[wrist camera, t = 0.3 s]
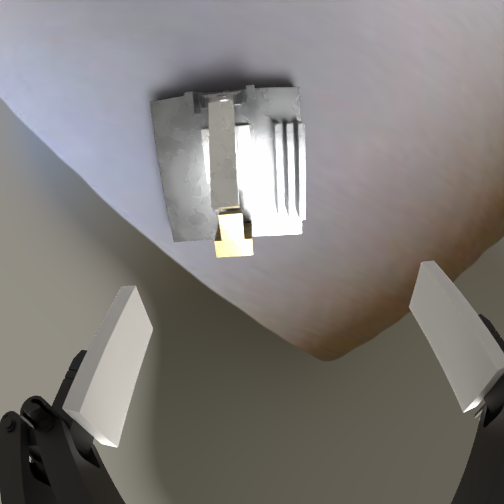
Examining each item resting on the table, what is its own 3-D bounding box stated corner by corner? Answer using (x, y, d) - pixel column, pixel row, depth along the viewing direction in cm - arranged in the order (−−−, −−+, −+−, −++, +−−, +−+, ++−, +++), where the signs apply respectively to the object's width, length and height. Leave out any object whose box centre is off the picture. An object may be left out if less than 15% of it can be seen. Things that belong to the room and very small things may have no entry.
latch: (215, 201, 32) (210, 215, 29) (249, 199, 32) (249, 213, 28) (220, 239, 35) (216, 257, 31) (252, 237, 35) (253, 255, 31)
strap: (202, 99, 25) (200, 93, 24) (241, 95, 25) (241, 88, 24) (204, 210, 26) (201, 208, 24) (248, 207, 25) (247, 205, 24)
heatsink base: (158, 99, 29) (136, 101, 23) (294, 86, 28) (306, 83, 22) (178, 231, 38) (166, 258, 32) (298, 223, 37) (307, 250, 31)
